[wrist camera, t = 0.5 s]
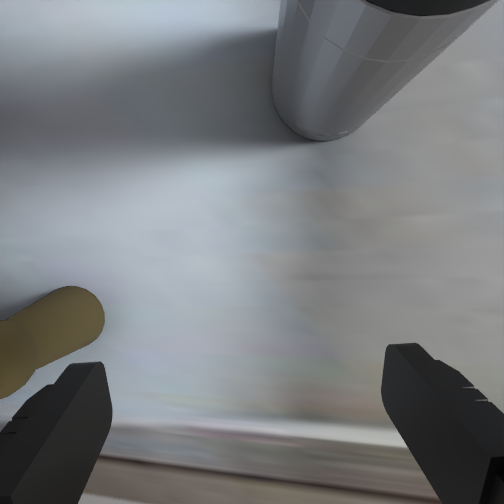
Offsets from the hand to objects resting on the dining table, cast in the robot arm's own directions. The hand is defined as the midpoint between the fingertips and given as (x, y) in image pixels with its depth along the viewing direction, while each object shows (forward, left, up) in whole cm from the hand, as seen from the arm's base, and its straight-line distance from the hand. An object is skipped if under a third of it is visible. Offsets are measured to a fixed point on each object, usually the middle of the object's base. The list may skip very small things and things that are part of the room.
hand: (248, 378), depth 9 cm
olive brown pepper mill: (+7, -16, -21) cm, 27 cm away
